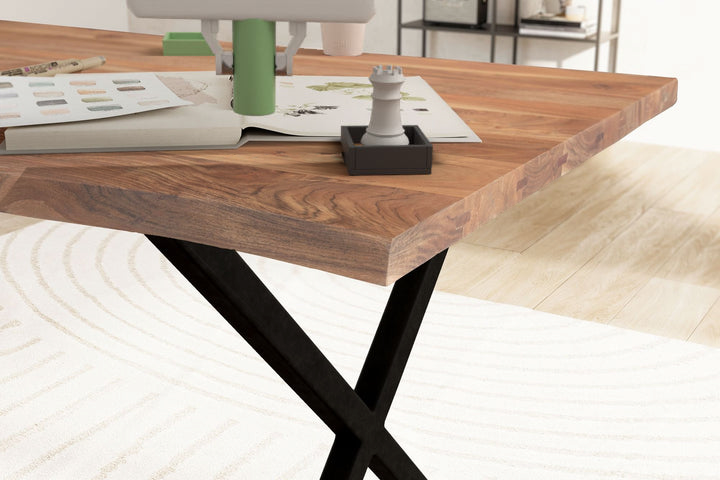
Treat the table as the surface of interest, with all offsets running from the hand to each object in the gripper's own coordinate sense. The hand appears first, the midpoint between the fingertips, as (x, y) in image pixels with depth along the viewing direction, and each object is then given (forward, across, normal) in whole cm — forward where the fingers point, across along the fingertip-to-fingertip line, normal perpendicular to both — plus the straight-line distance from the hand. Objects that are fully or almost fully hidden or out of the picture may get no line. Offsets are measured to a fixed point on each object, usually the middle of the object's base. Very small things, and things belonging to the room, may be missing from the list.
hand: (253, 74), depth 75 cm
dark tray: (+8, -12, 0) cm, 14 cm away
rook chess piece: (+8, -12, 0) cm, 14 cm away
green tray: (+8, +9, -55) cm, 56 cm away
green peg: (+3, 0, 0) cm, 3 cm away
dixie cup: (+8, -13, -55) cm, 57 cm away
